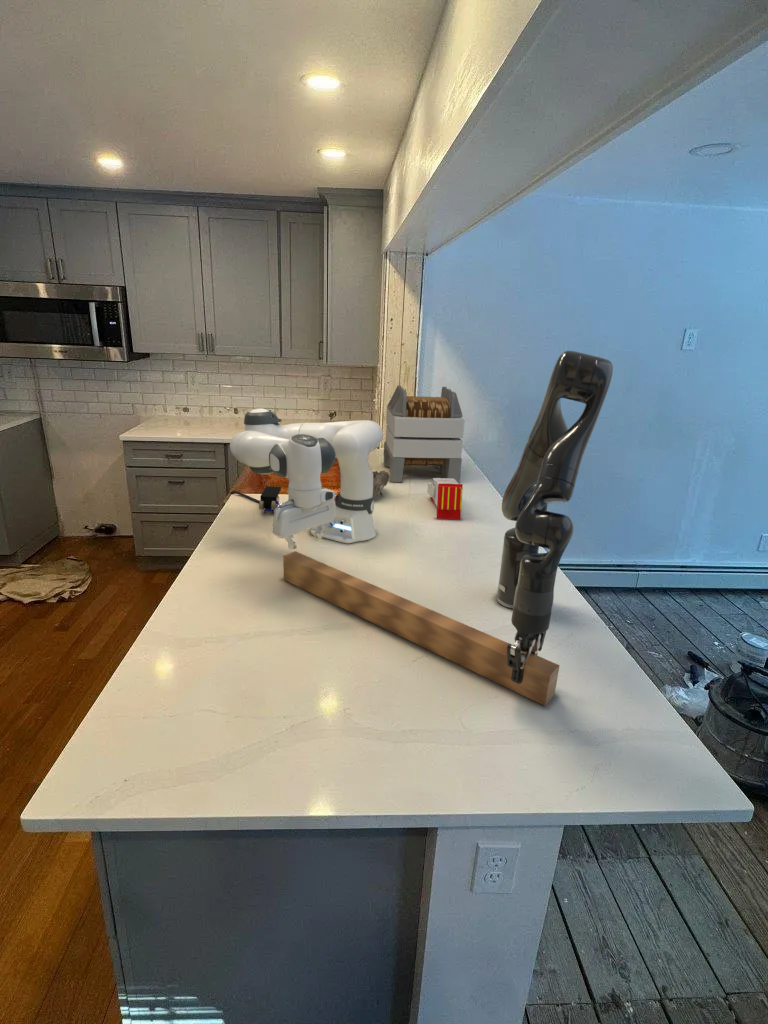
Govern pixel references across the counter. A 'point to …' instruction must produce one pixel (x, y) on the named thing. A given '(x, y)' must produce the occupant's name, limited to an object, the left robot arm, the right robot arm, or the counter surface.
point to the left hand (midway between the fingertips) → (305, 543)
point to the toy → (446, 497)
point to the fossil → (379, 481)
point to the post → (422, 626)
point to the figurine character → (269, 499)
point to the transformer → (423, 433)
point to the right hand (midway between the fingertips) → (522, 675)
